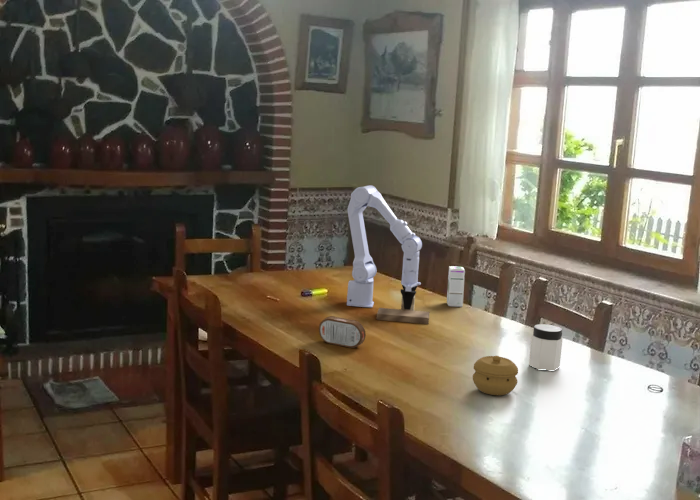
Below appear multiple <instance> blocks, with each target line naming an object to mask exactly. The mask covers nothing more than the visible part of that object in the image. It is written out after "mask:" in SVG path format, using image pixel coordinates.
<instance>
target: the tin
mask: <svg viewBox="0 0 700 500" xmlns="http://www.w3.org/2000/svg"><path fill="white" fill-rule="evenodd" d="M318 334H319V336H320V338H321V339H322V340H323V341H324V342H326V343H327V344H330V345H334V346H335V345H336V346H340V347H345V348H351V349H354V348H357V347H359V346H361V345H362V344H363V343H364V342H365V340H366V336H367V335H366V334H367V333H366V330H365V327H364V326H363V325H362V323H361V322H360V321H357V320H354V319H349V318H346V317H345V318H343V317H339V316H334V315H331V316H330V315H329V316H327V317H326V318H324V319H323V320H322V321H321V322H320V323H319V326H318Z"/></svg>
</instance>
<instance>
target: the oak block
mask: <svg viewBox="0 0 700 500" xmlns="http://www.w3.org/2000/svg"><path fill="white" fill-rule="evenodd" d="M415 299H416V295H415V296H414V298H413V301H412V305H411V308H410V310H412V311H415ZM400 310H408V309H404V303H403V297H402V296H401V307H400Z"/></svg>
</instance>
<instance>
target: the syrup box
mask: <svg viewBox="0 0 700 500" xmlns="http://www.w3.org/2000/svg"><path fill="white" fill-rule="evenodd" d="M465 274H466V270H465V268H464V267H463V266H459V265H458V266H457V265H455V266H454V265H451V266H450V265H449V266H448V276H447V294H446V304H447V306H448V307H457V308H459V307H460V308H463V305H464V292H465V291H464V290H465Z"/></svg>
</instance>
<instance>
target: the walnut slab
mask: <svg viewBox="0 0 700 500" xmlns="http://www.w3.org/2000/svg"><path fill="white" fill-rule="evenodd" d="M376 320H377V321H389V322H399V323H400V322H401V323H413V324H424V325H429V321H430V311H422V310H414V311H412V310H401V308H400V309H399V308H387V307H379V308H378V309H377V312H376Z"/></svg>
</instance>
